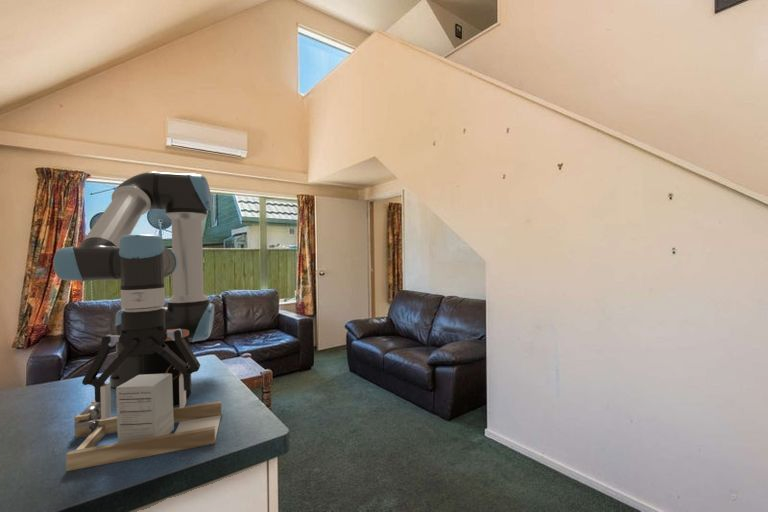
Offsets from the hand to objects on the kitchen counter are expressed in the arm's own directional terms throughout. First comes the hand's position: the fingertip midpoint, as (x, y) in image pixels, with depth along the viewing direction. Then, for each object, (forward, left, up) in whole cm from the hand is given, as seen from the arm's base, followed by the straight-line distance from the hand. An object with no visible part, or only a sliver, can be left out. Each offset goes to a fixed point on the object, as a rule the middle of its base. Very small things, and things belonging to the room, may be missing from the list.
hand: (145, 411), depth 72 cm
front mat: (0, +9, -6) cm, 11 cm away
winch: (-10, -13, -6) cm, 17 cm away
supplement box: (0, 0, -6) cm, 6 cm away
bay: (0, +2, -6) cm, 6 cm away
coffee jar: (-20, 0, -6) cm, 21 cm away
